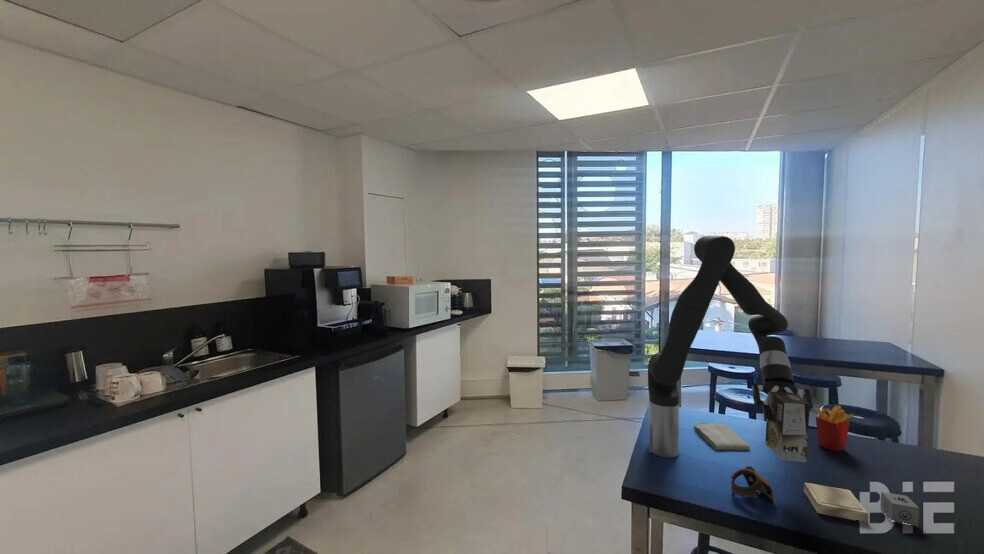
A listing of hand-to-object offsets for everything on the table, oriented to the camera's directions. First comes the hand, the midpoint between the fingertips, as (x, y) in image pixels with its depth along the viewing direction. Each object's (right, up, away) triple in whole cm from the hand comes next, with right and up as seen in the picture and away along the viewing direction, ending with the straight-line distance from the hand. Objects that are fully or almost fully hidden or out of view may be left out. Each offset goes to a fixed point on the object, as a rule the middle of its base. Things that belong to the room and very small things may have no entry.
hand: (785, 421), depth 109 cm
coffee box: (0, -9, +1) cm, 9 cm away
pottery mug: (-10, -20, 0) cm, 23 cm away
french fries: (+35, -18, +23) cm, 46 cm away
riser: (+8, -20, -6) cm, 23 cm away
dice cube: (+20, -20, -11) cm, 31 cm away
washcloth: (0, -19, +32) cm, 37 cm away
